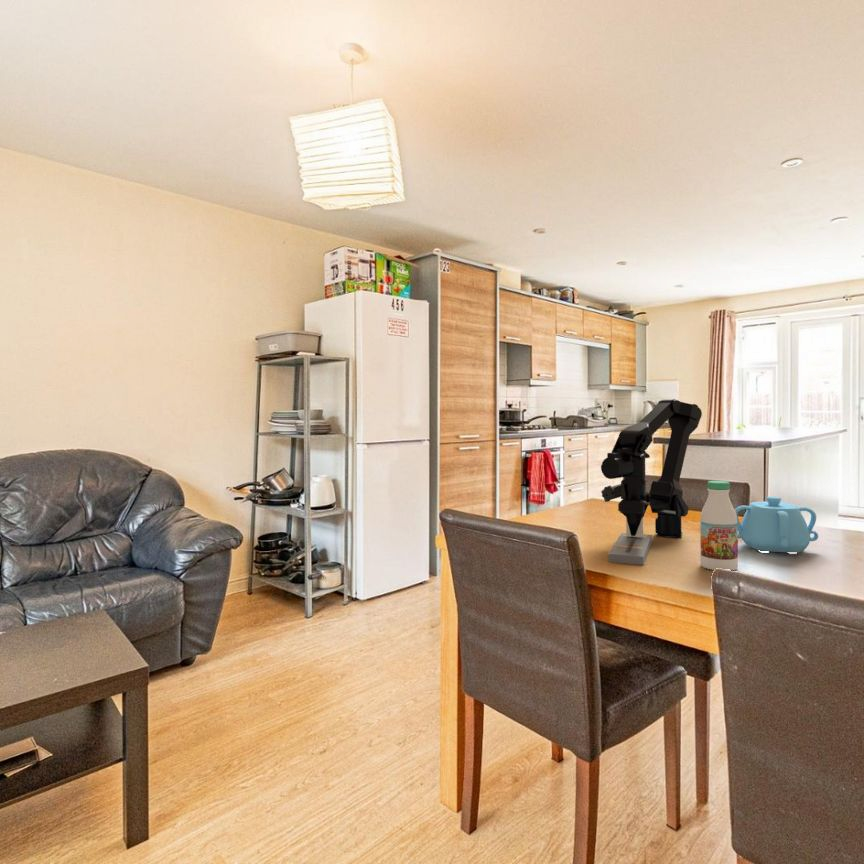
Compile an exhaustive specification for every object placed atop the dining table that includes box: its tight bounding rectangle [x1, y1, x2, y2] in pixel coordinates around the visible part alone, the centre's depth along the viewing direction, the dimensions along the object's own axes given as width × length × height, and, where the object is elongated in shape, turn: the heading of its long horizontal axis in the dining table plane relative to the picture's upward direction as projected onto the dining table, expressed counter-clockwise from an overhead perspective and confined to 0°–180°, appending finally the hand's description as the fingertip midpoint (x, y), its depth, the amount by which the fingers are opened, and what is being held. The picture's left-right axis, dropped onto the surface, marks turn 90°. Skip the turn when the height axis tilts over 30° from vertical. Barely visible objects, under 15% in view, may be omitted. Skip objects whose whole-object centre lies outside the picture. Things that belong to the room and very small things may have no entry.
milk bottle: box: [699, 480, 739, 571], centre depth 128 cm, size 8×8×20 cm
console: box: [607, 532, 653, 566], centre depth 144 cm, size 8×24×2 cm, turn 154°
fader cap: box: [625, 517, 644, 538], centre depth 151 cm, size 4×3×5 cm
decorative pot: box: [734, 496, 819, 553], centre depth 142 cm, size 16×16×14 cm
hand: (634, 532), depth 151 cm, fingers open, 8 cm apart
